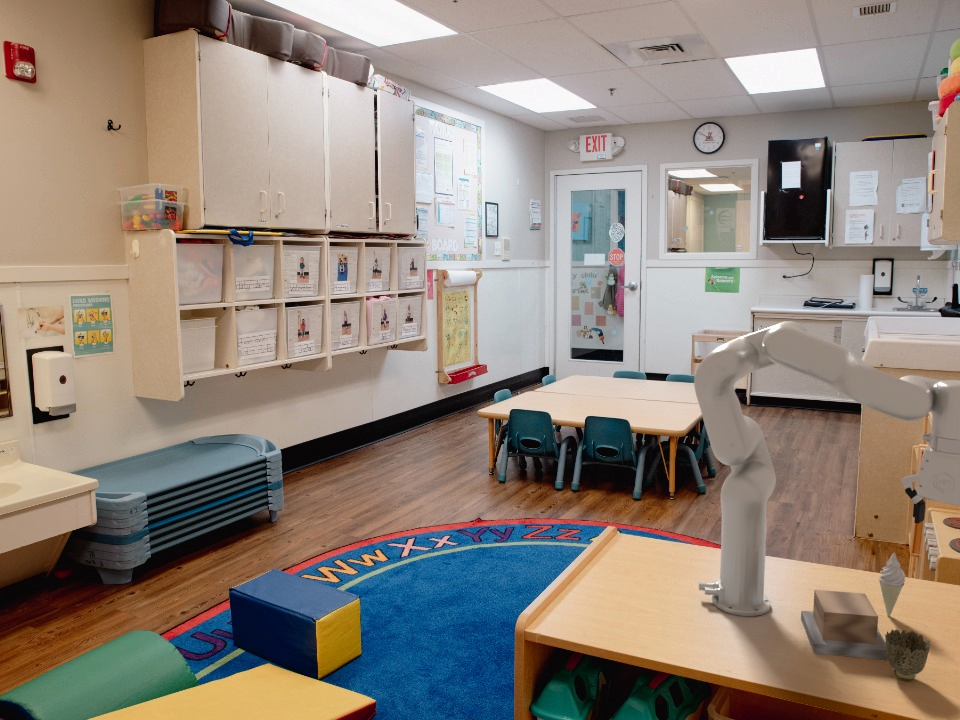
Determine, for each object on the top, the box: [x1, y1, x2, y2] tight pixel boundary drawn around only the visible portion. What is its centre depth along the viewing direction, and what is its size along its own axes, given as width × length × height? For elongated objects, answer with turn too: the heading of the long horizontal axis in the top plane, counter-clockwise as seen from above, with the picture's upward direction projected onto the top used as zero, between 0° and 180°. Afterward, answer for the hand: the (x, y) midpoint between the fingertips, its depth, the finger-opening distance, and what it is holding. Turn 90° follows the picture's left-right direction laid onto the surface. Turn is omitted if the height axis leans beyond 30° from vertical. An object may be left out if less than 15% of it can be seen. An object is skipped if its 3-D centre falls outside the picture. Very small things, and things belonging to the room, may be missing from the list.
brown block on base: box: [800, 589, 888, 661], centre depth 162 cm, size 14×14×8 cm
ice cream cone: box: [878, 551, 906, 617], centre depth 170 cm, size 5×5×15 cm
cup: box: [884, 628, 931, 682], centre depth 148 cm, size 8×7×8 cm
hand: (945, 528), depth 154 cm, fingers open, 9 cm apart
